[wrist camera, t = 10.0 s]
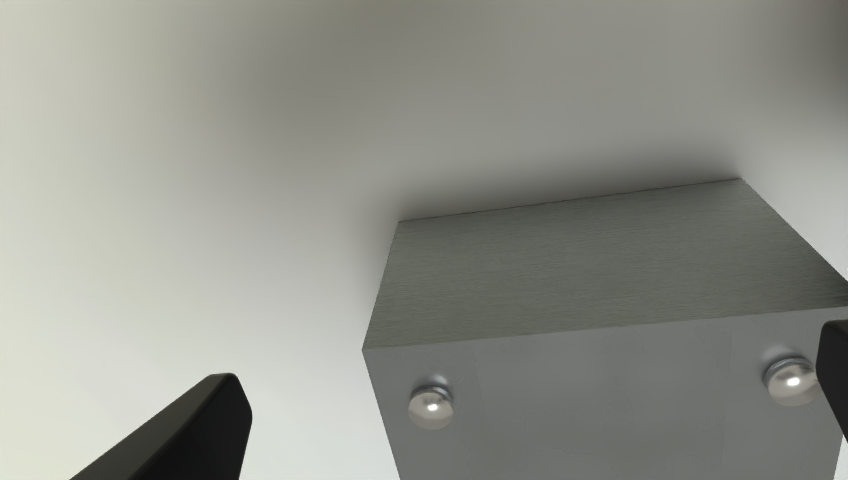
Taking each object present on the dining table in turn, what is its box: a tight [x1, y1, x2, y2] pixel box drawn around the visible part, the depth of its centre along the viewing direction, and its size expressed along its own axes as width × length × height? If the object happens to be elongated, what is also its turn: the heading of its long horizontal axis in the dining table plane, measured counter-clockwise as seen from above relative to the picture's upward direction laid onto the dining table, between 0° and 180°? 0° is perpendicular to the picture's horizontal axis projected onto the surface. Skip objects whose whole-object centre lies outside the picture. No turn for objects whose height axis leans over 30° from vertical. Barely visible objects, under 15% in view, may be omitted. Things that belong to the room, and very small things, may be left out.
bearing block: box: [362, 179, 848, 480], centre depth 19 cm, size 10×12×8 cm
